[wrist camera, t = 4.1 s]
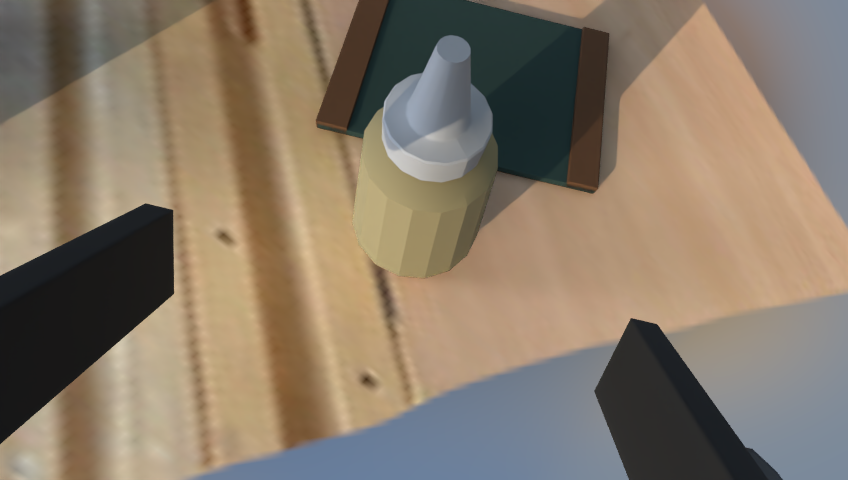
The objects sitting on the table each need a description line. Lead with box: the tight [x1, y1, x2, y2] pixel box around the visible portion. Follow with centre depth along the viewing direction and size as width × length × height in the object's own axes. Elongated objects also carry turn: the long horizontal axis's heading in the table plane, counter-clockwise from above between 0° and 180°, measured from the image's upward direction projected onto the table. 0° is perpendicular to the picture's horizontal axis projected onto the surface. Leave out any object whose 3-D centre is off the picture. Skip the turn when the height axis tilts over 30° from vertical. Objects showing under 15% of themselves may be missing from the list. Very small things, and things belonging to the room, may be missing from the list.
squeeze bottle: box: [352, 35, 498, 278], centre depth 23 cm, size 8×8×18 cm
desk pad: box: [316, 0, 609, 193], centre depth 37 cm, size 22×16×1 cm
